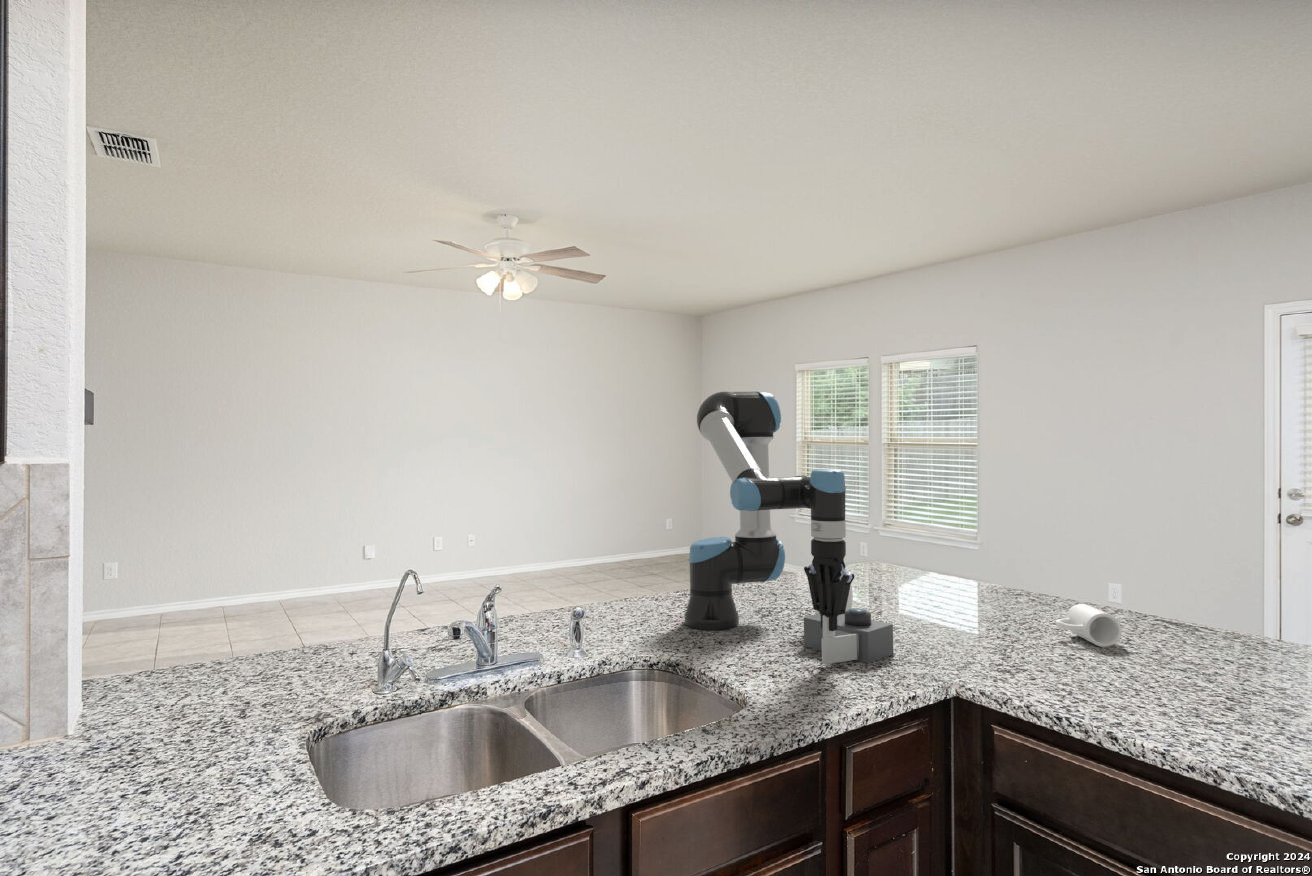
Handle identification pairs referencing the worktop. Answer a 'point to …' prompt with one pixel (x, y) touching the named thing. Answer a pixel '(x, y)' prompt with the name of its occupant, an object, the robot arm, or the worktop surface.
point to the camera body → (871, 633)
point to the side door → (840, 648)
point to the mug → (1092, 625)
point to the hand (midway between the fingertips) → (829, 644)
